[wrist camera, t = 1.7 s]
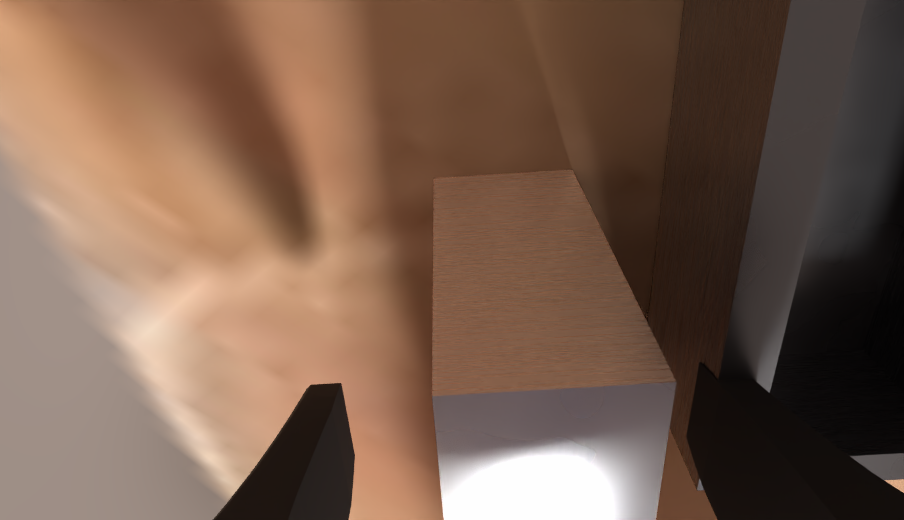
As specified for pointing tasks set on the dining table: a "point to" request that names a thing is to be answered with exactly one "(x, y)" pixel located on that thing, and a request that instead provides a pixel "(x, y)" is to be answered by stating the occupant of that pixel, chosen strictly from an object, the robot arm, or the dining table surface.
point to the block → (540, 358)
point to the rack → (788, 216)
